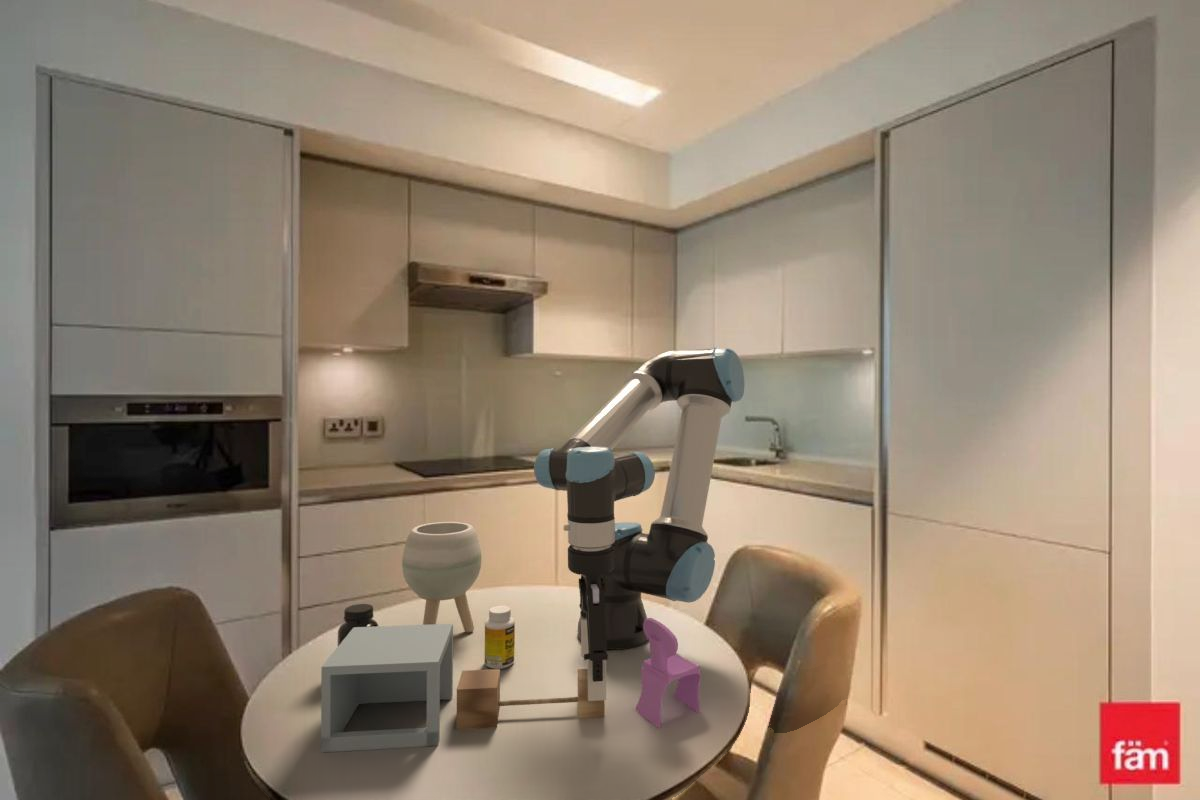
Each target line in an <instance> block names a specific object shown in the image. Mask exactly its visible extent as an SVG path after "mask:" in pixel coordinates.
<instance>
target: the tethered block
mask: <svg viewBox="0 0 1200 800" xmlns="http://www.w3.org/2000/svg"><path fill="white" fill-rule="evenodd" d="M564 703H565V704H566V703H567V704H568V703H569V704H570V703H577V713H578V719H588V718H592V719H593V718H604V717H605V700H599V701H588V668H579V669H578V668H577V696H574V697H573V696H570V697H556V698H555V697H553V698H535V699H534V698H533V699H515V700H513V699H512V700H511V699H510V700H501V669H492V668H490V669H474V670H473V669H472V670H469V669H467V670H462V671H461V674H460V677H459V681H458V683H457V688H456V730H467V729H469V730H470V729H486V728H487V729H490V728H498V723H499V715H500V708H501V707H506V706H525V705H528V706H529V705H543V704H544V705H545V704H564Z"/></svg>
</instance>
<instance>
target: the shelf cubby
mask: <svg viewBox="0 0 1200 800" xmlns="http://www.w3.org/2000/svg"><path fill="white" fill-rule="evenodd" d="M453 659H454V623H438V624H437V623H436V624H431V625H423V624H406V625H384V626H383V625H380V626H379V625H378V626H376V627H354V628H353V629H352V630H351V631H350V632H349V634H348V635H347V636H346V637H345V639H344V640H343V641H342V642H341V644H340V645H339V646H338V647H336V649H335V650H334V651H333V652H332V653H331V654H330V656H329V657H328V659H326V661H325V662H324V663H323V665H322V666H321V671H320V672H321V689H320V690H321V699H320V700H321V702H320V703H321V704H320V705H321V707H320V709H321V711H320V713H321V715H320V716H321V718H320V719H321V723H320V725H321V726H320V727H321V728H320V734H321V735H320V745H321V746H320V747H321V748H320V753H333V752H353V751H369V750H384V749H385V750H387V749H401V748H403V749H404V748H406V749H407V748H420V747H422V748H423V747H436V746H439V744H440V739H441V737H440V735H441V733H440V730H441V729H440V728H441V727H440V721H441V719H440V718H441V717H440V715H441V714H440V713H441V712H440V711H441V710H440V707H441V705H440V704H441V703H440V702H441V701H442V700H452V699H453V696H454V694H453V693H454V685H453V684H454V678H453V677H454V670H453V669H454V660H453ZM440 700H441V701H440ZM419 701H420V702H421V701H426V727H414V728H413V727H411V728H395V729H379V730H377V729H376V730H374V729H373V730H358V731H344V729H345V728H346V725H347V724H348V722H349V720H350V719H352V718H351V717H352V715H353V714H354V713H355V711H356V709H357V707H358V706H359V704H361V705H362V704H378V703H381V704H382V703H383V704H384V703H399V702H400V703H401V702H419Z"/></svg>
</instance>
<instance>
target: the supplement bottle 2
mask: <svg viewBox="0 0 1200 800" xmlns="http://www.w3.org/2000/svg"><path fill="white" fill-rule="evenodd" d="M488 611H489V613H488V618H487V619H486V620H485V622H484V665H485V666H486V667H488V668H489V669H500V670H501V669H507V668H509V667H511V666H512V665H513V664H514V662H515V644H516V643H515V642H516V641H515V633H516V631H515V626H516V625H515V624H516V621H515V618H513V617H512V616H511V615H512V612H511V611H512V610H511V607H509V606H507V605H496V606H495V605H494V606H493V607H491V608H489V610H488Z"/></svg>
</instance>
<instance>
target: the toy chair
mask: <svg viewBox="0 0 1200 800" xmlns="http://www.w3.org/2000/svg"><path fill="white" fill-rule="evenodd" d="M643 631H644V633H645V635H646V636H647V638H648V642H649V652H650V658H648V659H644V660H643V661H642V664H643V665H642V667H641V669H640V674H641V675H640V676H641V692H640V696H639V699H638V701H637V703H636V706H635V709H634V710H635V711H636V712H638V713H639V714H640V715H641V716H643V718H645V719H647V720H648V721H649V722H651V723H652V724H653V725H654V726H656V727H657V728H658V729H660V728H662V717H661V716H662V715H661V714H662V713H661V710H662V709H661V708H662V707H661V706H662V700H663V698H664V695H665V693H666V690H667V689H668V686H669V685H670V684H671V683H673V682H676V681H677V680H678V683H677V685H676V689H675V690H674V692H673V694H672V696H673V697H674V698H676V699H678V700H679V701H680V702H682V703H683V704H684V705H686V706H687V707H689V708H690V709H692V710H694V711H695V712H697V713H701V706H700V684H701V680H702V673H701V672H700V666H699V665H698V664H696V663H694V662H692V661H690V660H688V659H686V658H684V657H683V656H681V655H680V654H679V653H677V652H678V649H679V643H678V638H677V637H676V635H675V634H674V633H673V631H671V630H670V629H669V627H667V626H666V625H665V624H663V623H662V622H660V621H659V620H657V619H656V618H655V619H654V618H652V617H647V619H646V620H645V621H644V623H643Z"/></svg>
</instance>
